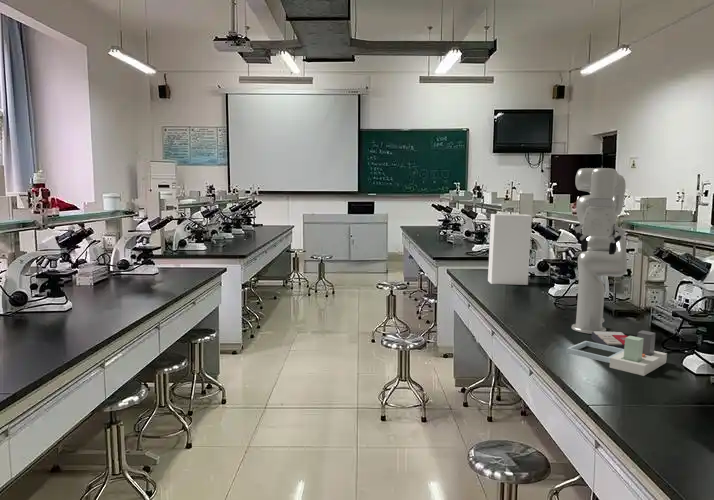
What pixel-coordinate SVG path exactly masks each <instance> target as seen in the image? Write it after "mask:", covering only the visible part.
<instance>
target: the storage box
mask: <svg viewBox="0 0 714 500" xmlns="http://www.w3.org/2000/svg"><path fill="white" fill-rule="evenodd" d="M532 218H533V216H532V215H531V214H521V213H520V214H513V213H512V214H511V213H506V214H505V213H490V227H489V229H490V230H489V231H490V232H489V247H488V248H489V249H488V271H487V273H488V274H487V282H489V284H491V285H517V286H519V285H520V286H524V285H525V286H528V285H529V272H530V271H529V270H530V255H531V253H530V252H531V251H530V250H531V235H532V233H531V232H532Z"/></svg>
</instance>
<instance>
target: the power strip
mask: <svg viewBox="0 0 714 500" xmlns="http://www.w3.org/2000/svg"><path fill="white" fill-rule="evenodd" d="M667 356H668V353H667V352H666V353H665V352H661V351H658V350H657V351H656V350H654V355H652V356H648V355H645V354H642V361H641V362H639V363H638V362H633V361H629V360H625V359H624V352H621V353H619V354H617V355H615V356H613V357H611V358H610V363H609V368H611V369H614V370H618V371H622V372H626V373H631V374H634V375H639V376H643V377H644V376H646V375H647V374H649V373H651V372H653V371H655V370H656V369H658V368H659V367H661V366H663V365H665V364H666V363H667Z"/></svg>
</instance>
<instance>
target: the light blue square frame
mask: <svg viewBox="0 0 714 500" xmlns="http://www.w3.org/2000/svg"><path fill="white" fill-rule="evenodd" d="M586 347H589V348H593V349H599V350H603V351H607V352H612V353H613V354H611V355H609V356H605V355H602V354H601V355H600V354H596V353H592V352H589V351H588V352H587V351H584V350H582V349H584V348H586ZM621 352H624V349H621V348H616V347H612V346H607V345H603V344H599V343H597V342H594V341H588V340H584V341H582V342H580V343H579V342H578V343H577V344H574V345H572V346H569V347H567V348H566V354H571V355H574V356H578V357H583V358H587V359H592V360H596V361H600V362H605V363H609V364H610V358H611V357H613V356H615V355H617V354H619V353H621Z"/></svg>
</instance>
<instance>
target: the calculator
mask: <svg viewBox="0 0 714 500" xmlns="http://www.w3.org/2000/svg"><path fill="white" fill-rule="evenodd" d="M628 336H629V335H626V334H624V333H623V332H621V331H606V332H601V331H594V332H592V334H591V336H590V337H591V339H592V340H593V342H594V343H598V344H603V345H607V346H612V347H616V348H621V349H624V346H625V338H626V337H628Z"/></svg>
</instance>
